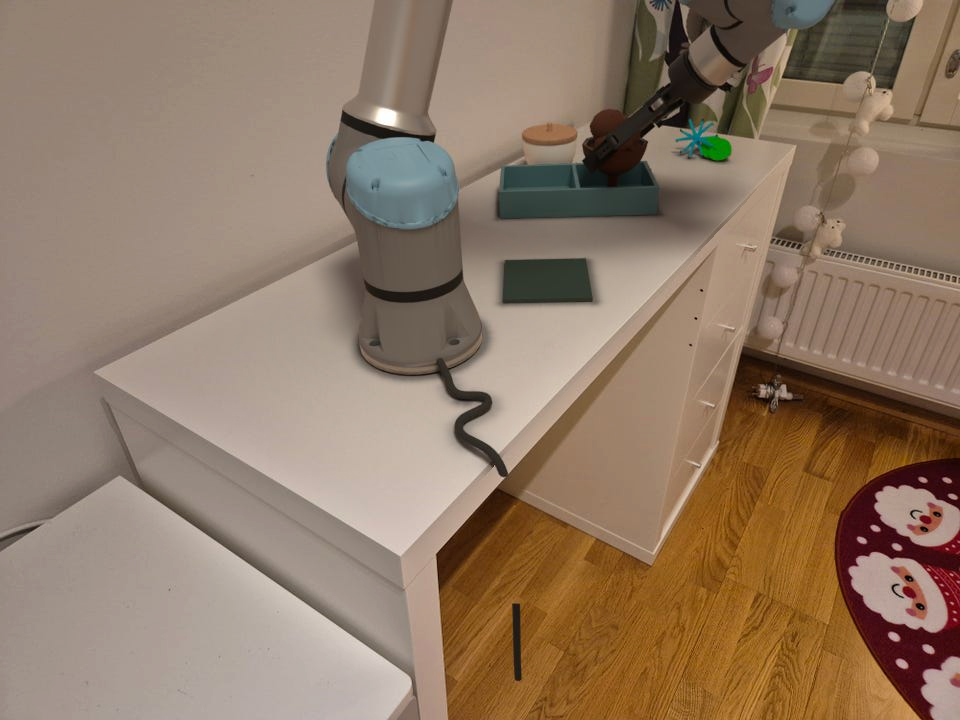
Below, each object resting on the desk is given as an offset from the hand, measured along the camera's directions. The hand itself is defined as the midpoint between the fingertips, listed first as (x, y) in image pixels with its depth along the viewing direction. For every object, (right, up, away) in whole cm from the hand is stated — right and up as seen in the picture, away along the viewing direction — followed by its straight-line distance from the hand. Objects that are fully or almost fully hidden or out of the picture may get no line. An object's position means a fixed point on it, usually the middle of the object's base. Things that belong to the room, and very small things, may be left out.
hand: (605, 155), depth 113 cm
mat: (-12, -24, -20) cm, 34 cm away
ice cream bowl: (+2, -6, +3) cm, 7 cm away
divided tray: (-5, -7, +4) cm, 9 cm away
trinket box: (-8, +2, +18) cm, 20 cm away
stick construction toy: (+24, +7, +22) cm, 33 cm away
